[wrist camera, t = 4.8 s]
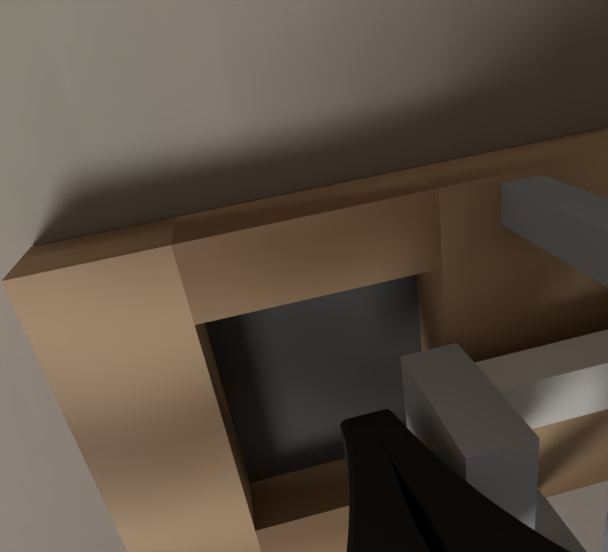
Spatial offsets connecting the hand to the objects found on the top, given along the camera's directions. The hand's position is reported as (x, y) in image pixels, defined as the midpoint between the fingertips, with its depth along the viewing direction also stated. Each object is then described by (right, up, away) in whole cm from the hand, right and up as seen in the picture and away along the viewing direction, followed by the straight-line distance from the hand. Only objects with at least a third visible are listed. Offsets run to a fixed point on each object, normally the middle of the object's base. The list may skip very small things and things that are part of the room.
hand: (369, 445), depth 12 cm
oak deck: (+7, +3, +4) cm, 9 cm away
